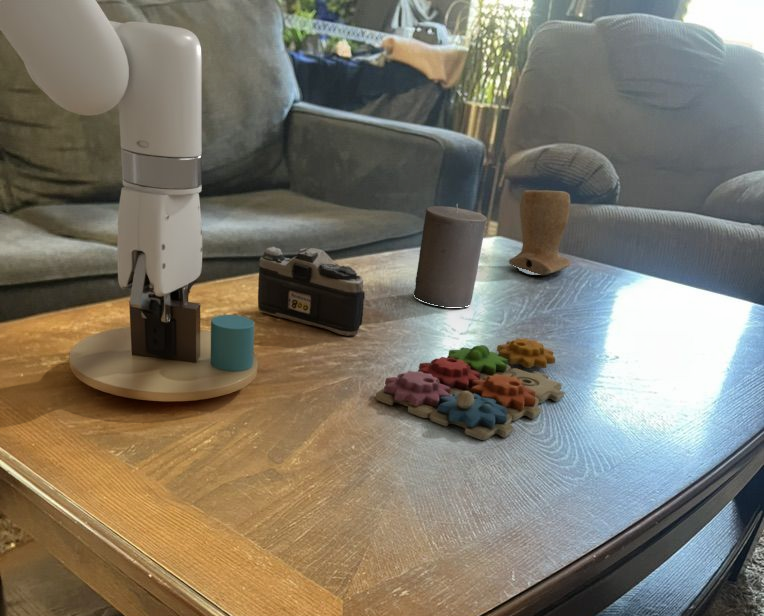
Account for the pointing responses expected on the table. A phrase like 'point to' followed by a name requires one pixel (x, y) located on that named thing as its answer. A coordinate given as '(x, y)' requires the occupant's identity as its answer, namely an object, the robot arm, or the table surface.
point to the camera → (311, 290)
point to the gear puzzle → (477, 388)
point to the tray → (156, 361)
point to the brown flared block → (542, 231)
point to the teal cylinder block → (232, 342)
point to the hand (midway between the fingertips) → (166, 350)
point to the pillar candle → (449, 256)
